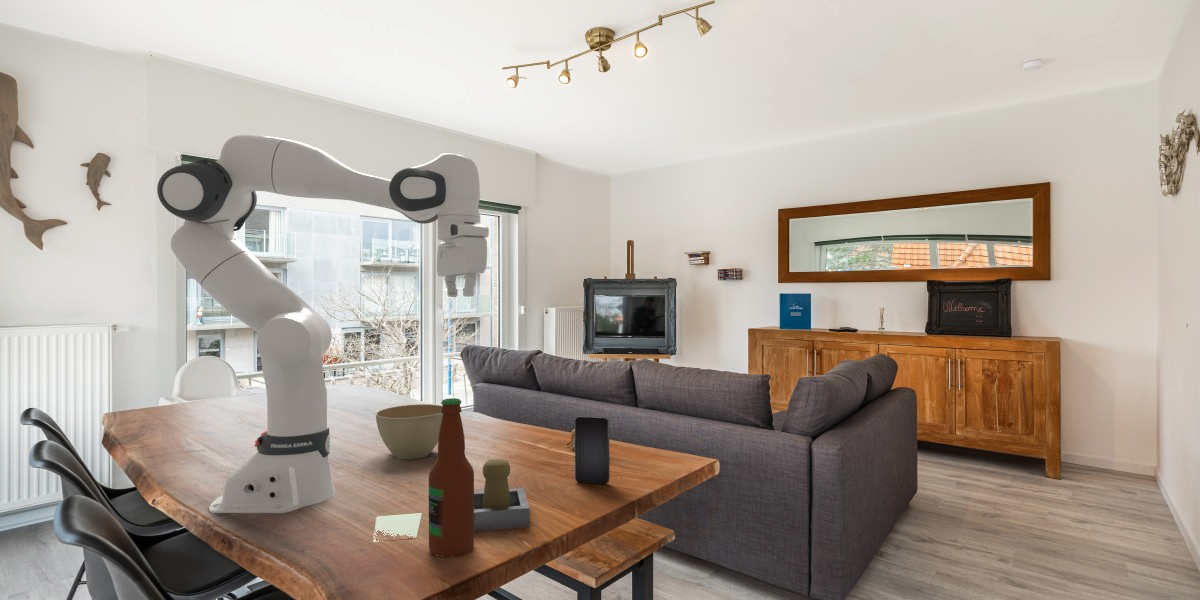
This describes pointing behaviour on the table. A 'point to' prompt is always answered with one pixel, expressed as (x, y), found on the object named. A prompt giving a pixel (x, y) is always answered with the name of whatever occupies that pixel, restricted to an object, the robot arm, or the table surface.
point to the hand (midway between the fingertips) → (460, 296)
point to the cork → (496, 484)
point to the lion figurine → (572, 439)
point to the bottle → (451, 488)
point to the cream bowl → (410, 429)
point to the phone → (592, 450)
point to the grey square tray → (502, 512)
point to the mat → (398, 524)
